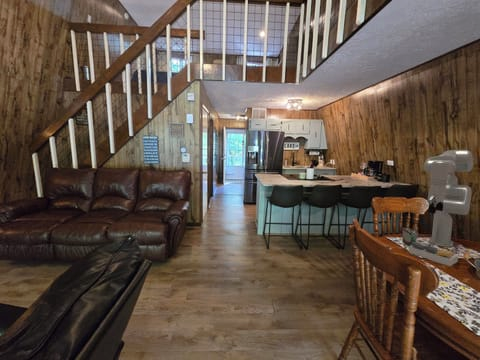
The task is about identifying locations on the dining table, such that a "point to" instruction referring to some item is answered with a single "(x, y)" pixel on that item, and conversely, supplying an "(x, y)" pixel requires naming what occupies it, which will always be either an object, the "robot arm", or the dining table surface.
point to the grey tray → (434, 256)
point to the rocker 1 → (417, 245)
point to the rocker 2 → (430, 249)
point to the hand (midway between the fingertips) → (435, 211)
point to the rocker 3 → (444, 253)
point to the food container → (409, 236)
